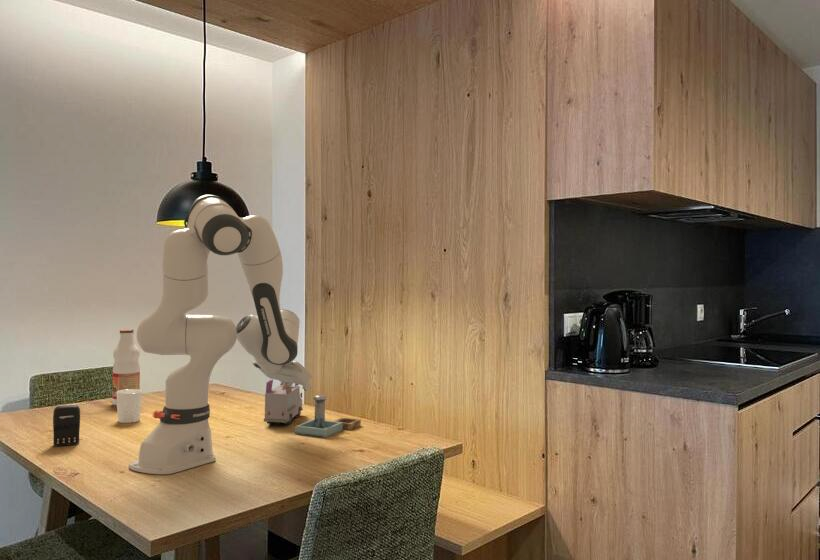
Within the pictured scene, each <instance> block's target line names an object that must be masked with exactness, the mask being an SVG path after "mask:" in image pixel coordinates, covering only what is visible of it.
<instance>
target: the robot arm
mask: <svg viewBox="0 0 820 560" xmlns="http://www.w3.org/2000/svg"><path fill="white" fill-rule="evenodd" d="M183 224H184V227H185V228H183V229H182V228H181V229H177V230H176V229H175V230H174V231H172V232H170V233H169V234H168V235H167V236H166V237H165V241H164V245H163V254H162V295H161V296H162V297H161V300H160V302H159V304H158V306H157V308H156V309H155V310H154V311H153V312H152V313H151V314H149V315H148V316H146V317H144V318H143V319H142V320H141V321H140V323H139V325H138V326H137V330H136V341H137V343H138V346H139V348H140V349H141V350H142V351H143V352H144V353H149V354H153V355H159V356H189V357H190V360H189V362H188V363H187V364H185V365H183V366H181V367H179V368H176V369H175V370H173V371H172V372H171V373H169V374H168V376H167V377H166V379H165V389H164V390H165V399H164V400H165V402H164V406H163V409H162V410H154V411H153V413H152V417H153V419H158V420H159V421H160V422H159V423H158V424H157V426H155V428H154V429H153V430H152V431H151V432H150V433H149V434H148V435H147V437H145V438H144V440H143V441H142V442H141V444H140V448H139V454H138V459H135V460H133V461H132V462H129V464H128V468H129V469H130V470H132V471H135V472H140V473H143V474H151V475H171V474H175V473H178V472H182V471H185V470H189V469H192V468H195V467H198V466H199V467H200V466H202V465H206V464H208V463H213V462H215V461H216V456H215V454H214V451H213V442H212V441H213V437H212V430H211V427H210V424H209V418H210V415H211V413H210V412H211V409H210V404H209V390H210V389H209V388H210V380H211V375H212V371H213V370H214V369H215V365H217V363H218V362H219V360H221V358H222V357H223V356H225V355H226V354H227V353H229V352H230V351H231V350H232V348H233V347H234V346H235V344H236V341H238V343H239V344H240V346H241V347H242V348H243V349H244V350H245V351H246V352H247V354H249V355H250V356H252V357H253V358H254V360H253V361H252V365H253V366H254V368H257V369H258V370H260V372H261V373H263V374H264V376H265V377H267V378H269V379H270V380H272V379H273V380H277V381H278V382H280V383H281V382H282V383H283V384H285V385H286V386H287V387H291V386H294V385H295V384H299V385H301V386H302V388H301V389H303V390H304V391H305V392H310V390H311V389H312V386H311V385H310V384H309V383H310V382H311V380H312V378H313V376H312V373H310V371H308V370H307V368H305V366H304V365H302V364H301V363H300V362H299V361H296V360H295V359H296V357H297V356H298V347H299V346H298V341H299V336H300V335H299V334H300V318H299V317H298V315H297V314H295V312H292V311H291V310H288V309H281V304H280V295H281V286H282V280H283V274H284V273H283V271H284V268H283V257H282V251H281V248H280V246H279V242H278V239H277V237H276V235H275V232H274V230H273V228H272V226H271V224H270V223H269V221H268V220H267V219H266V218H265V217H263V216H261V215H255V214H254V215H247V216H245V217H240V216H238V214H237V212H236V211H235V210H234V208H233V207H232V206H230V205H229V202H227V201H226V199H223V198H222V197H220V196H218V195H214V194H204V195H201V196H199V197H198V198H196V199H195V200H194V201H193V203H191V207H190V208H189V211H188V213H187V214H186V217H185V218H184V221H183ZM210 252H211V253H213V254H216V255H218V256H231V255H234V254H237V255H238V258H239V262H240V264H241V266H242V267H241V269H242V270H243V272H244V273H243V274H244V275H245V278H246V279H245V280H246V281H247V284H248V287H249V290H250V293H251V297H252V299H253V302H254V307H255V310H256V314H247V315H245V316H243V317H242V319H240V320H239V322H238V323H237V325H235V322H234V321H233V320H232V319H231V318H230V317H227V316H222V315H218V314H187V313H188V312H190V311H193V310H194V309H196V308H197V309H198V307H200V306H201V305H202V304H203V303H204V302H206V300H207V298H208V295H209V277H208V276H209V274H208V273H209V271H208V267H209V266H208V257H209V254H210Z"/></svg>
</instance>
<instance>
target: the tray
mask: <svg viewBox="0 0 820 560" xmlns="http://www.w3.org/2000/svg"><path fill="white" fill-rule="evenodd" d="M314 425H315V418H312V419H309V420H307V421H305V422H302V423H300V424H298V425H295V427H294V430H295V431H294V434H295V435H301V436H306V437H307V436H308V437H315V438H316V437H317V438H322V439H323V438H324V439H327V438H329V437H331V436H333V435H335V434H337V433H339V432H341V431H343V430H344V429H343V422H335V420H326V419H325V429H322V428H314Z"/></svg>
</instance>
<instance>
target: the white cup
mask: <svg viewBox="0 0 820 560" xmlns="http://www.w3.org/2000/svg"><path fill="white" fill-rule="evenodd" d="M142 396H143V390H142V389H140V390H139V389H126V390H120V391H117V406H116V409H117V421H118V423H121V424H130V423H132V422H133V423H137V422H140V419H141V411H142V401H143V400H142V399H143V397H142Z"/></svg>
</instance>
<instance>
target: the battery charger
mask: <svg viewBox="0 0 820 560" xmlns="http://www.w3.org/2000/svg"><path fill="white" fill-rule="evenodd" d="M52 411H53V412H52V431H53V432H52V435H53V440H52V441H53V442H52V443H53V446H54V447H63V446H73V445H77V444H80V430H81V408H80V406H79V405H78V404H73V403H71V404H60V405H57V406H55V407H54V409H53V410H52Z"/></svg>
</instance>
